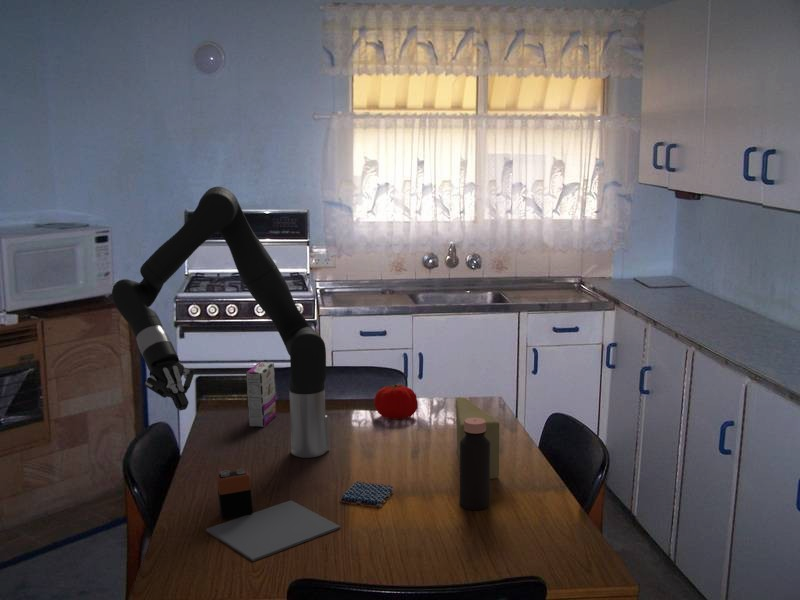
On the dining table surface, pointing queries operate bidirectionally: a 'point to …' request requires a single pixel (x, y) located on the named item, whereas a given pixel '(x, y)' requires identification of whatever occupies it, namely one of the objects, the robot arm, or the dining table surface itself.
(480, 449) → the bottle
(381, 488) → the woven mat
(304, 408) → the robot arm
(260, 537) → the rubber mat
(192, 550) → the dining table surface
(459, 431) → the cheese
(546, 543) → the dining table surface
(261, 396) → the candy bar box
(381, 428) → the dining table surface
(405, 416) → the tomato
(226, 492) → the battery
